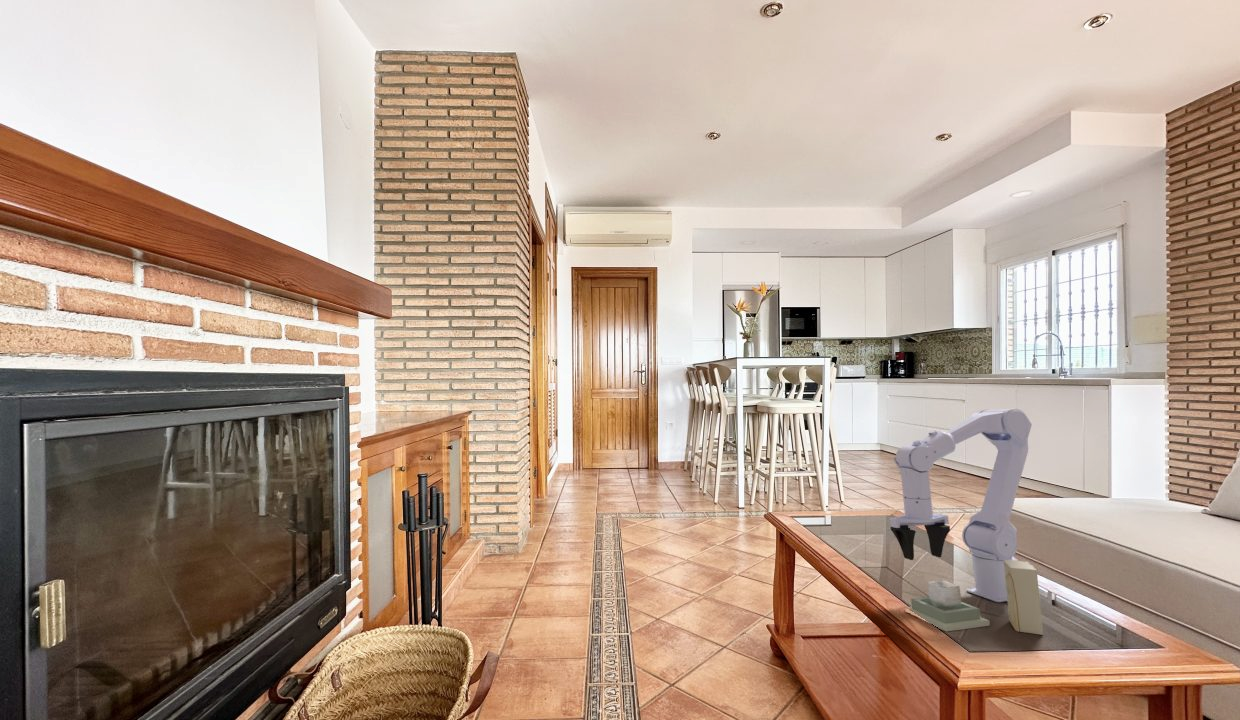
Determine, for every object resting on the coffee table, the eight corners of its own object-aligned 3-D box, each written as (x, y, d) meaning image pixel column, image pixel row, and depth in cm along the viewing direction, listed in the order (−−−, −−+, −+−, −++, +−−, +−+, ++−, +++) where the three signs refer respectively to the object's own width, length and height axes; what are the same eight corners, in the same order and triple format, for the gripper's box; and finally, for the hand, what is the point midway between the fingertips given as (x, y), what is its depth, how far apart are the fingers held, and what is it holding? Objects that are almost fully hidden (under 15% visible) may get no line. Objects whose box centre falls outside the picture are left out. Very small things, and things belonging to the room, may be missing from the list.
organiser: (945, 607, 110) (943, 592, 110) (989, 625, 100) (987, 609, 100) (904, 612, 108) (903, 597, 108) (946, 631, 98) (944, 615, 98)
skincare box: (1008, 620, 102) (1001, 558, 104) (1036, 624, 100) (1028, 561, 102) (1016, 632, 97) (1008, 566, 98) (1045, 636, 95) (1037, 569, 96)
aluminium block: (946, 609, 106) (943, 580, 107) (962, 616, 102) (959, 585, 103) (930, 611, 105) (927, 581, 106) (946, 618, 101) (943, 587, 102)
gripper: (929, 493, 123) (934, 550, 121) (878, 496, 120) (883, 555, 118) (953, 497, 116) (960, 558, 114) (900, 501, 113) (906, 563, 111)
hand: (922, 557), depth 116 cm, fingers open, 7 cm apart
